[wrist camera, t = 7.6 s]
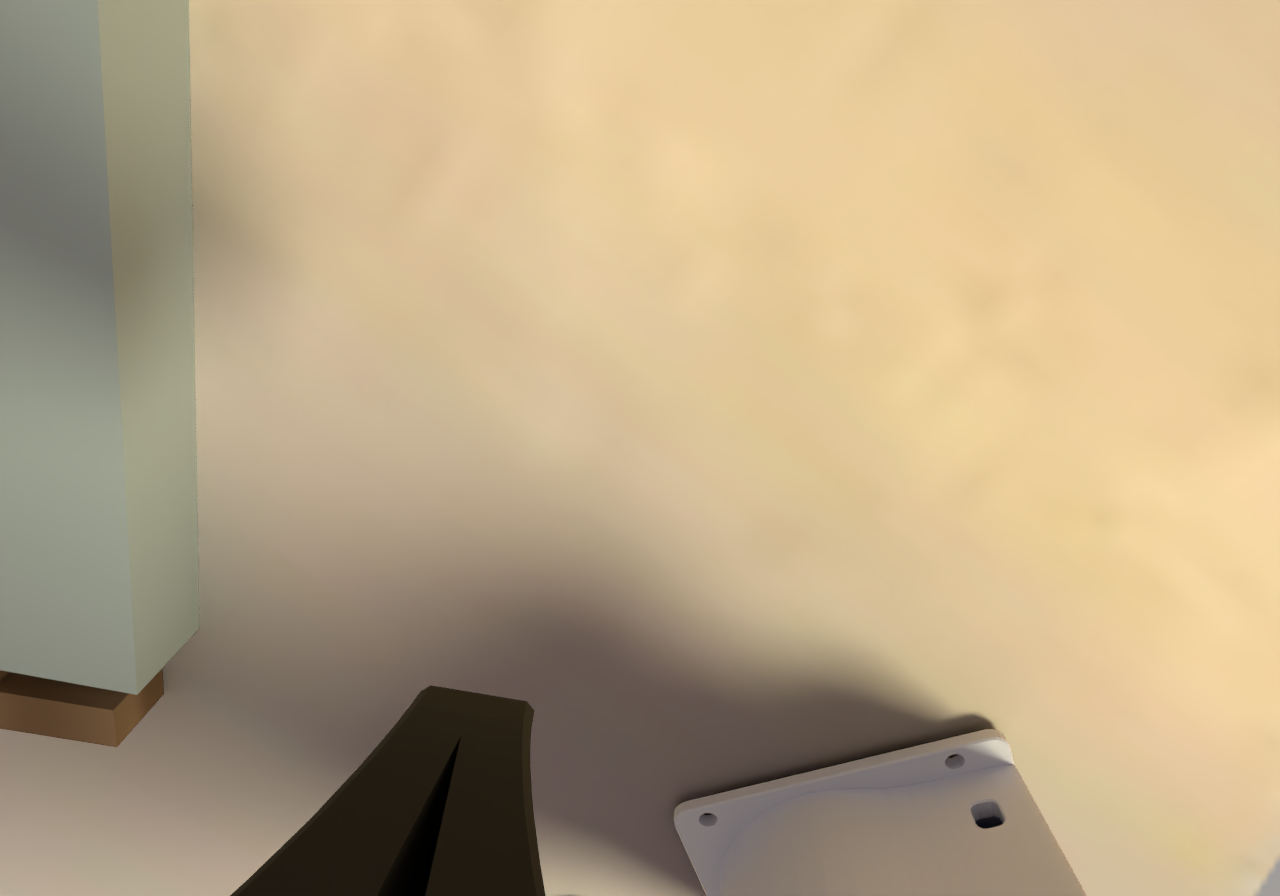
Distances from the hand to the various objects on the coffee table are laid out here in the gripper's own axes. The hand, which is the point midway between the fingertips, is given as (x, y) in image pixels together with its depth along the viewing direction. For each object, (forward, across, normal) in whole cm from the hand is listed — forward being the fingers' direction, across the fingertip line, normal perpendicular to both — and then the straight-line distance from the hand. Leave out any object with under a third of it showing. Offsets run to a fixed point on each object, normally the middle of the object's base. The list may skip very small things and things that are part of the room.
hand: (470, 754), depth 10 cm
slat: (+10, +11, -1) cm, 15 cm away
